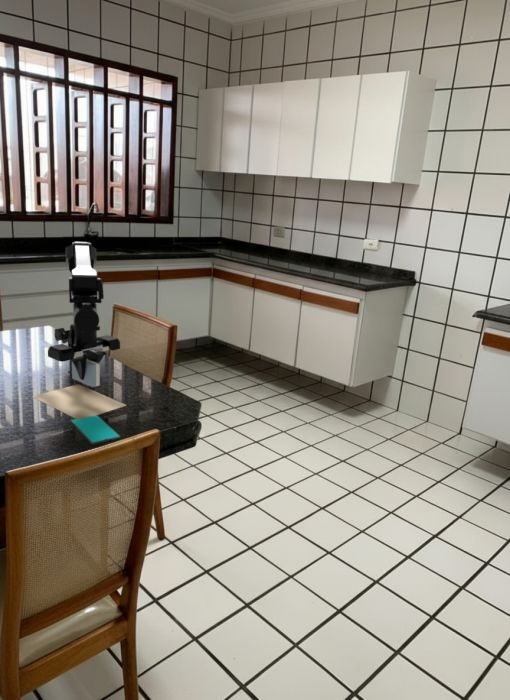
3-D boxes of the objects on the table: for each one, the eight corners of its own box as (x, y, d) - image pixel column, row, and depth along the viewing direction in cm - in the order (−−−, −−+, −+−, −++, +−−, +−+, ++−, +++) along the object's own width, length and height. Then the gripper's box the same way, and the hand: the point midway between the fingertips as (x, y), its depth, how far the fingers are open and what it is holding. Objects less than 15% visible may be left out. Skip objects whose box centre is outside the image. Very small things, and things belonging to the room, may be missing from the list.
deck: (79, 376, 147) (78, 355, 145) (99, 385, 142) (99, 363, 140) (72, 378, 145) (71, 357, 143) (92, 387, 140) (92, 365, 138)
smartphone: (97, 414, 140) (121, 436, 129) (97, 417, 140) (121, 439, 129) (68, 419, 136) (91, 443, 124) (69, 422, 136) (91, 446, 125)
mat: (78, 385, 160) (78, 384, 160) (126, 406, 147) (126, 405, 147) (31, 397, 148) (31, 396, 148) (79, 422, 136) (79, 420, 136)
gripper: (96, 311, 150) (96, 364, 155) (34, 320, 136) (36, 378, 140) (121, 319, 144) (121, 374, 148) (60, 329, 130) (61, 389, 134)
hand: (85, 378), depth 143 cm, fingers closed on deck, 2 cm apart
